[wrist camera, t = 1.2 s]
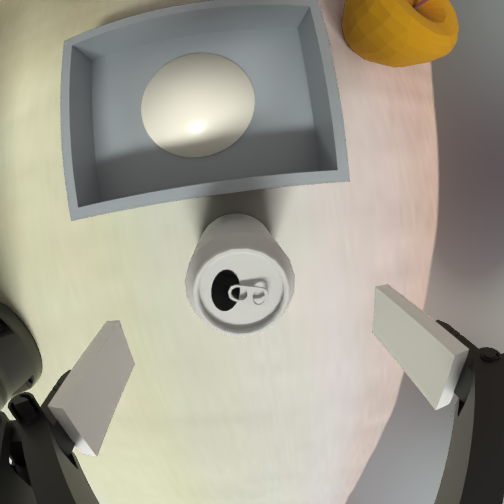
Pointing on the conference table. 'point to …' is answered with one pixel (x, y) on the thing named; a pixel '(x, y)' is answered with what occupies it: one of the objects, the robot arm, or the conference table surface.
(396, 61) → the apple
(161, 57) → the walled box
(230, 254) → the can
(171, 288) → the conference table surface
